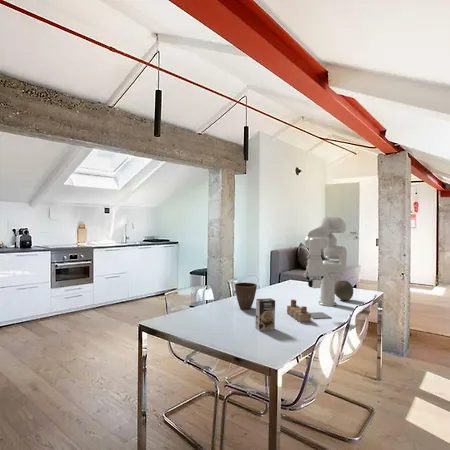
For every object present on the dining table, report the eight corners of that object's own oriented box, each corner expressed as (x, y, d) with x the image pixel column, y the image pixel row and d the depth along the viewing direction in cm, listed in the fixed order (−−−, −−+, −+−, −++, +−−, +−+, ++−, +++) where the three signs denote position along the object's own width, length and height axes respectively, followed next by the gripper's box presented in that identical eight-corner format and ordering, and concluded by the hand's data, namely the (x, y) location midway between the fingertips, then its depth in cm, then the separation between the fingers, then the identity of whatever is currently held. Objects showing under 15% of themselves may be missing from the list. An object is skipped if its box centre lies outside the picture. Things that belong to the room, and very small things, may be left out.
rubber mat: (305, 313, 219) (305, 312, 219) (322, 313, 221) (322, 312, 221) (313, 319, 207) (313, 318, 207) (331, 318, 210) (331, 317, 210)
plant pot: (255, 311, 222) (255, 287, 221) (232, 310, 225) (232, 286, 224) (257, 306, 236) (257, 283, 236) (236, 304, 239) (236, 282, 239)
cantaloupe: (350, 298, 265) (350, 279, 265) (355, 302, 251) (355, 282, 251) (331, 297, 267) (332, 278, 267) (335, 302, 253) (336, 281, 253)
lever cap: (308, 285, 216) (308, 277, 216) (315, 285, 217) (315, 276, 217) (313, 288, 210) (313, 279, 209) (320, 288, 210) (320, 279, 210)
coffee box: (259, 331, 183) (259, 301, 183) (255, 327, 189) (255, 298, 189) (275, 330, 185) (275, 300, 185) (270, 326, 191) (270, 297, 191)
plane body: (286, 313, 219) (287, 299, 219) (297, 313, 220) (297, 299, 220) (299, 322, 199) (299, 307, 199) (310, 322, 201) (310, 307, 201)
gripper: (304, 258, 208) (303, 288, 208) (330, 258, 211) (330, 287, 211) (299, 257, 215) (299, 285, 216) (324, 256, 218) (324, 285, 219)
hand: (314, 286), depth 213 cm, fingers closed on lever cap, 5 cm apart
